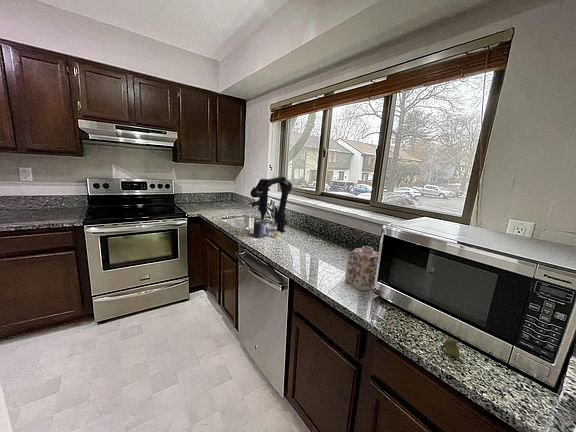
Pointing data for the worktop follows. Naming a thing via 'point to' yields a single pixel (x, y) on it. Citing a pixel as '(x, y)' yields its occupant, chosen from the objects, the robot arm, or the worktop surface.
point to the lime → (451, 348)
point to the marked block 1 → (245, 232)
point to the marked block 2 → (276, 234)
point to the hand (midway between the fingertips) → (262, 218)
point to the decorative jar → (362, 268)
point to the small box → (261, 229)
